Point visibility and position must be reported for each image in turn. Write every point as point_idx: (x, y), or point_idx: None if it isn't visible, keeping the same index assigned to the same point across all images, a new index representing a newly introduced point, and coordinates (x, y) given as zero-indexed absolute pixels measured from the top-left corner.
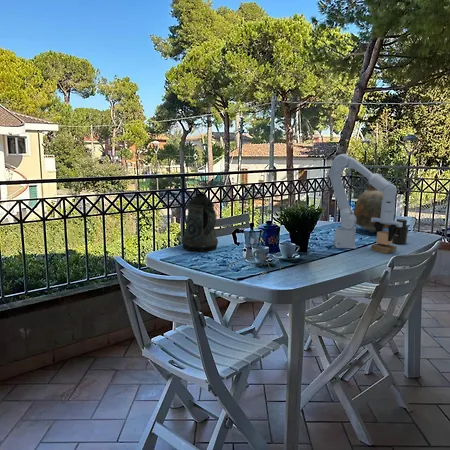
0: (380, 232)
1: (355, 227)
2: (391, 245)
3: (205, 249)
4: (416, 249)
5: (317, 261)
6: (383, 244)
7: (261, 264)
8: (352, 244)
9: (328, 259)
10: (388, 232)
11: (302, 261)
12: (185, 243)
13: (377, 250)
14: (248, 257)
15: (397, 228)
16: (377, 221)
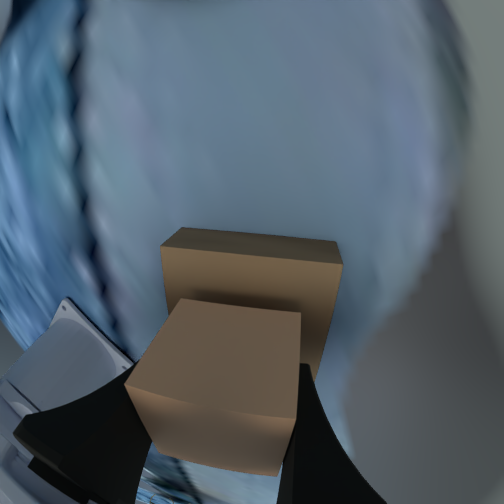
0: (189, 458)
1: (28, 409)
2: (293, 281)
3: None
4: (419, 30)
5: (200, 485)
6: (220, 301)
7: (172, 500)
8: (108, 376)
9: (201, 475)
10: (243, 438)
11: (184, 487)
12: None
13: None
14: (150, 501)
15: (373, 500)
16: (56, 494)
